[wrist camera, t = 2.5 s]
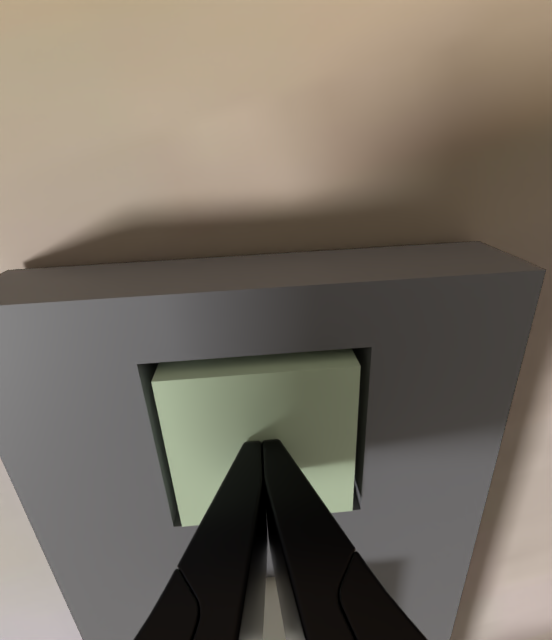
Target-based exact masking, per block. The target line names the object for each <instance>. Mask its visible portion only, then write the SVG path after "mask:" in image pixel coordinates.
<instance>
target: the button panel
mask: <svg viewBox="0 0 552 640" xmlns="http://www.w3.org/2000/svg"><path fill="white" fill-rule="evenodd" d="M545 272H546V270H545V269H543V268H540V267H538V266H536V265H533V264H531V263H529V262H526V261H524V260H522V259H519V258H517V257H515V256H512V255H510V254H508V253H505V252H503V251H501V250H498V249H496V248H494V247H491V246H489V245H487V244H484V243H482V242H480V241H474V242H458V243H441V244H425V245H409V246H392V247H376V248H360V249H343V250H327V251H310V252H294V253H278V254H261V255H245V256H229V257H212V258H196V259H180V260H163V261H147V262H131V263H114V264H98V265H82V266H65V267H49V268H32V269H16V270H7V271H5V272H3V273H1V274H0V457H1V459H2V462H3V464H4V466H5V468H6V470H7V473H8V475H9V477H10V479H11V482H12V484H13V486H14V488H15V490H16V493H17V495H18V497H19V499H20V501H21V504H22V506H23V508H24V510H25V513H26V515H27V517H28V519H29V521H30V524H31V526H32V528H33V530H34V532H35V535H36V537H37V539H38V541H39V544H40V546H41V548H42V550H43V552H44V555H45V557H46V559H47V561H48V564H49V566H50V568H51V570H52V572H53V575H54V577H55V579H56V581H57V583H58V586H59V588H60V590H61V592H62V595H63V597H64V599H65V601H66V603H67V606H68V608H69V610H70V612H71V614H72V617H73V619H74V621H75V623H76V626H77V628H78V630H79V632H80V634H81V637H82V639H83V640H133V639H134V638H135V636H136V635H137V633H138V632H139V630H140V629H141V627H142V626H143V624H144V622H145V621H146V619H147V618H148V616H149V615H150V613H151V611H152V609H153V608H154V606H155V604H156V602H157V601H158V599H159V597H160V596H161V594H162V592H163V590H164V589H165V587H166V585H167V583H168V581H169V579H170V578H171V576H172V574H173V572H174V570H175V569H177V565H178V563H179V561H180V559H181V557H182V556H183V554H184V552H185V550H186V548H187V546H188V545H189V543H190V541H191V539H192V537H193V535H194V533H195V532H196V530H197V528H198V526H199V525H195V526H185V527H182V524H181V520H180V515H179V510H178V505H177V501H176V496H175V491H174V487H173V482H172V477H171V473H170V468H169V463H168V458H167V454H166V449H165V444H164V440H163V435H162V430H161V426H160V421H159V416H158V411H157V407H156V402H155V397H154V393H153V388H152V383H151V381H152V379H153V376H154V374H155V371H156V368H157V366H158V363H159V362H173V361H187V360H200V359H214V358H228V357H242V356H255V355H269V354H283V353H296V352H310V351H324V350H337V349H351V348H352V350H353V352H354V354H355V356H356V358H357V360H358V362H359V364H360V366H361V370H360V388H359V405H358V423H357V440H356V458H355V475H354V493H353V511H347V512H336V513H331V514H332V515H333V517H334V518H335V519H336V521H337V522H338V524H339V525H340V527H341V528H342V530H343V531H344V532H345V534H346V535H347V537H348V538H349V540H350V541H351V542H352V544H353V545H354V547H355V548H356V551H357V552H359V554H360V555H361V556H362V558H363V559H364V561H365V562H366V564H367V565H368V567H369V568H370V569H371V571H372V572H373V573H374V575H375V576H376V577H377V579H378V580H379V581H380V583H381V584H382V585H383V587H384V588H385V589H386V591H387V592H388V593H389V594H390V596H391V597H392V598H393V599H394V600H395V602H396V603H397V604H398V605H399V606H400V608H401V609H402V610H403V611H404V613H405V614H406V615H407V616H408V617H409V618H410V620H411V621H412V622H413V623H414V624H415V625H416V626H417V628H418V629H419V630H420V631H421V632H422V633H423V634H424V636H425V637H426V638H427V639H428V640H450V637H451V633H452V630H453V626H454V622H455V618H456V614H457V610H458V607H459V603H460V599H461V595H462V591H463V587H464V583H465V580H466V576H467V572H468V568H469V564H470V560H471V557H472V553H473V549H474V545H475V541H476V537H477V533H478V530H479V526H480V522H481V518H482V514H483V510H484V507H485V503H486V499H487V495H488V491H489V487H490V483H491V480H492V476H493V472H494V468H495V464H496V460H497V456H498V453H499V449H500V445H501V441H502V437H503V433H504V430H505V426H506V422H507V418H508V414H509V410H510V406H511V403H512V399H513V395H514V391H515V387H516V383H517V380H518V376H519V372H520V368H521V364H522V360H523V356H524V353H525V349H526V345H527V341H528V337H529V333H530V330H531V326H532V322H533V318H534V314H535V310H536V306H537V303H538V299H539V295H540V291H541V287H542V283H543V279H544V276H545ZM267 531H268V527H267ZM267 577H275V575H274V570H273V564H272V559H271V553H270V547H269V539H268V553H267V571H266V578H267Z"/></svg>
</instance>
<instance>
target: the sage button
mask: <svg viewBox="0 0 552 640" xmlns="http://www.w3.org/2000/svg"><path fill="white" fill-rule="evenodd" d="M360 370H361V366H360V364H359V362H358V360H357V358H356V356H355V354H354V352H353V350H352V348H351V349H337V350H324V351H310V352H296V353H283V354H269V355H255V356H242V357H228V358H214V359H200V360H187V361H173V362H159V363H158V366H157V368H156V371H155V374H154V376H153V379H152V381H151V383H152V388H153V393H154V397H155V402H156V407H157V411H158V416H159V421H160V426H161V430H162V435H163V440H164V444H165V449H166V454H167V458H168V463H169V468H170V473H171V477H172V482H173V487H174V491H175V496H176V501H177V505H178V510H179V515H180V520H181V524H182V527H185V526H195V525H199V524H200V522H201V520H202V519H203V517H204V515H205V513H206V511H207V509H208V508H209V506H210V504H211V502H212V500H213V498H214V496H215V495H216V493H217V491H218V489H219V487H220V485H221V483H222V482H223V480H224V478H225V476H226V474H227V472H228V471H229V469H230V467H231V465H232V463H233V461H234V459H235V458H236V456H237V454H238V452H239V450H240V448H241V446H242V445H243V443H244V442H247V441H261V443H262V442H263V441H264V440H271V439H279V440H280V441H281V442H282V443H283V445H284V446H285V448H286V449H287V451H288V452H289V454H290V455H291V456H292V458H293V459H294V461H295V462H296V464H297V465H298V466H299V468H300V469H301V471H302V472H303V474H304V475H305V476H306V478H307V479H308V481H309V482H310V484H311V485H312V487H313V488H314V489H315V491H316V492H317V494H318V495H319V497H320V498H321V499H322V501H323V502H324V504H325V505H326V507H327V508H328V509H329V511H330V512H331V513H336V512H347V511H353V493H354V475H355V458H356V440H357V423H358V405H359V388H360Z"/></svg>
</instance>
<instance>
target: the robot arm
mask: <svg viewBox="0 0 552 640" xmlns="http://www.w3.org/2000/svg"><path fill="white" fill-rule="evenodd" d="M267 527H268V531H267ZM268 539H269V547H270V553H271V559H272V564H273V570H274V575H275V581H276V587H277V592H278V598H279V603H280V609H281V615H282V620H283V626H284V631H285V637H286V640H428V639H427V638H426V637H425V636H424V634H423V633H422V632H421V631H420V630H419V629H418V628H417V626H416V625H415V624H414V623H413V622H412V621H411V620H410V618H409V617H408V616H407V615H406V614H405V613H404V611H403V610H402V609H401V608H400V606H399V605H398V604H397V603H396V602H395V600H394V599H393V598H392V597H391V596H390V594H389V593H388V592H387V591H386V589H385V588H384V587H383V585H382V584H381V583H380V581H379V580H378V579H377V577H376V576H375V575H374V573H373V572H372V571H371V569H370V568H369V567H368V565H367V564H366V562H365V561H364V559H363V558H362V556H361V555H360V554H359V552H357V551H356V548H355V547H354V545H353V544H352V542H351V541H350V540H349V538H348V537H347V535H346V534H345V532H344V531H343V530H342V528H341V527H340V525H339V524H338V522H337V521H336V519H335V518H334V517H333V515H332V514H331V512H330V511H329V509H328V508H327V507H326V505H325V504H324V502H323V501H322V499H321V498H320V497H319V495H318V494H317V492H316V491H315V489H314V488H313V487H312V485H311V484H310V482H309V481H308V479H307V478H306V476H305V475H304V474H303V472H302V471H301V469H300V468H299V466H298V465H297V464H296V462H295V461H294V459H293V458H292V456H291V455H290V454H289V452H288V451H287V449H286V448H285V446H284V445H283V443H282V442H281V441H280V440H279V439H271V440H264V441H263V442H262V443H261V441H247V442H244V443H243V445H242V446H241V448H240V450H239V452H238V454H237V456H236V458H235V459H234V461H233V463H232V465H231V467H230V469H229V471H228V472H227V474H226V476H225V478H224V480H223V482H222V483H221V485H220V487H219V489H218V491H217V493H216V495H215V496H214V498H213V500H212V502H211V504H210V506H209V508H208V509H207V511H206V513H205V515H204V517H203V519H202V520H201V522H200V524H199V526H198V528H197V530H196V532H195V533H194V535H193V537H192V539H191V541H190V543H189V545H188V546H187V548H186V550H185V552H184V554H183V556H182V557H181V559H180V561H179V563H178V565H177V569H175V570H174V572H173V574H172V576H171V578H170V579H169V581H168V583H167V585H166V587H165V589H164V590H163V592H162V594H161V596H160V597H159V599H158V601H157V602H156V604H155V606H154V608H153V609H152V611H151V613H150V615H149V616H148V618H147V619H146V621H145V622H144V624H143V626H142V627H141V629H140V630H139V632H138V633H137V635H136V636H135V638H134V639H133V640H263V625H264V607H265V589H266V571H267V553H268Z"/></svg>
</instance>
